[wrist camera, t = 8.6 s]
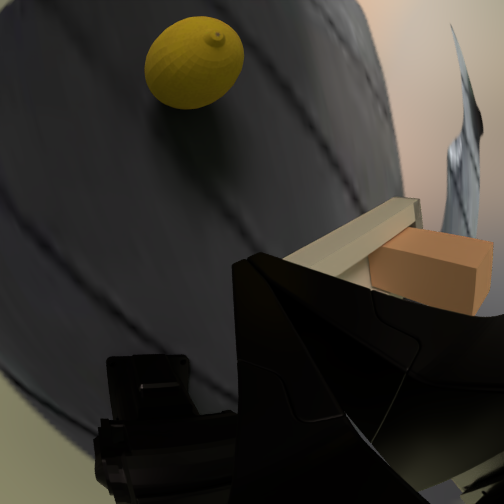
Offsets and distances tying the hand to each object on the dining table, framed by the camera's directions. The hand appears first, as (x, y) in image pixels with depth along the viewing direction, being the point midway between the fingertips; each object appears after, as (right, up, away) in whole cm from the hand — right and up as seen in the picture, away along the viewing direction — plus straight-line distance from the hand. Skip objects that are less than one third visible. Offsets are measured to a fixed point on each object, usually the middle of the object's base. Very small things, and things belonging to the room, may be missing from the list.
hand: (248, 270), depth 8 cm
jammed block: (+14, 0, +21) cm, 26 cm away
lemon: (-5, +12, +10) cm, 17 cm away
